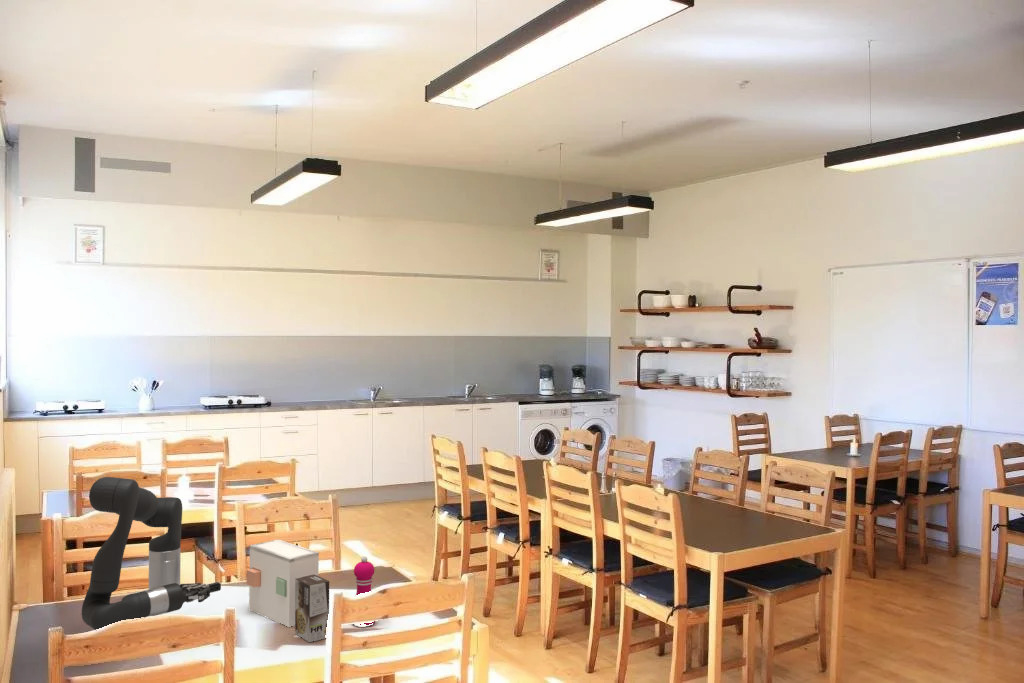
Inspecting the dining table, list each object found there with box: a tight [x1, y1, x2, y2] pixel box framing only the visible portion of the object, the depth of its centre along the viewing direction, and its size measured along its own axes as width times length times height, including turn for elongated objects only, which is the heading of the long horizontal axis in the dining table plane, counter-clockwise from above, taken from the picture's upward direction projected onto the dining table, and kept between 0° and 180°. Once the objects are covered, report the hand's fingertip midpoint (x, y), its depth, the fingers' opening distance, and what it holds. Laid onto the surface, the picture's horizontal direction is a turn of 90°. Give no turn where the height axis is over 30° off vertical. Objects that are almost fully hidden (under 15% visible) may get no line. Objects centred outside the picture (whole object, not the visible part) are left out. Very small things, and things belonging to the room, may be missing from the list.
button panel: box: [248, 539, 320, 628], centre depth 249 cm, size 22×10×20 cm, turn 48°
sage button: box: [276, 578, 287, 597], centre depth 242 cm, size 4×4×4 cm
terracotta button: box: [246, 568, 261, 587], centre depth 250 cm, size 4×4×4 cm
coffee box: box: [294, 574, 331, 643], centre depth 232 cm, size 9×6×16 cm
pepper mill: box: [353, 556, 375, 625], centre depth 242 cm, size 7×7×20 cm
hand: (219, 585), depth 241 cm, fingers closed
